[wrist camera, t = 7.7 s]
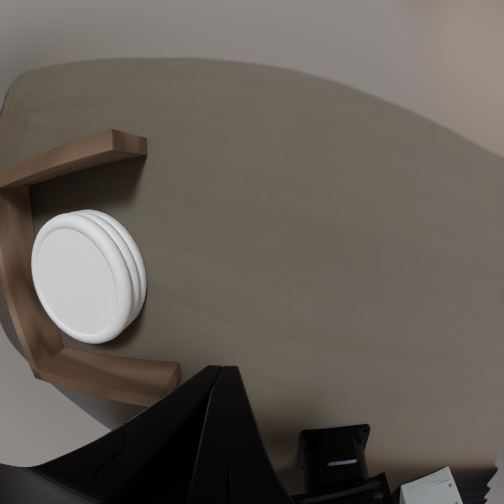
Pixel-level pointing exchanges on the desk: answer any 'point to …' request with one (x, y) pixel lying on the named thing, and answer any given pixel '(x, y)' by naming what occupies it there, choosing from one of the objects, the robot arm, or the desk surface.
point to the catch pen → (25, 296)
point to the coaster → (88, 275)
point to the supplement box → (431, 489)
